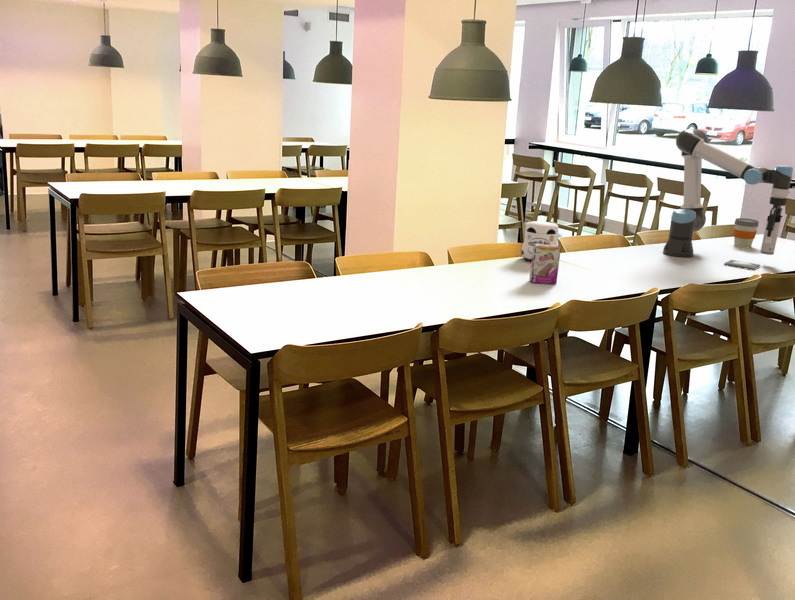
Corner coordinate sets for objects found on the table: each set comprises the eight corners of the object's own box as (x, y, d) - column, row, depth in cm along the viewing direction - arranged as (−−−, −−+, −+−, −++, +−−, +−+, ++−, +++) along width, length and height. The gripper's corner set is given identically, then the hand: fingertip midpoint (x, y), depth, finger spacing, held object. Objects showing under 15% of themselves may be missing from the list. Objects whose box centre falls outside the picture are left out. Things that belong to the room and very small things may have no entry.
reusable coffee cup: (725, 243, 444) (730, 218, 440) (743, 243, 448) (748, 218, 444) (741, 248, 433) (745, 222, 429) (759, 248, 437) (764, 222, 432)
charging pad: (724, 265, 386) (724, 262, 386) (731, 261, 395) (731, 259, 395) (753, 270, 378) (753, 267, 377) (760, 266, 387) (760, 264, 386)
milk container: (532, 265, 362) (536, 227, 357) (514, 257, 378) (517, 221, 373) (563, 263, 369) (567, 227, 364) (544, 256, 384) (547, 220, 379)
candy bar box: (531, 283, 328) (535, 246, 323) (528, 280, 332) (532, 243, 328) (557, 284, 328) (561, 247, 324) (554, 281, 333) (558, 244, 328)
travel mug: (772, 255, 387) (781, 216, 381) (758, 253, 390) (766, 214, 385) (775, 253, 391) (783, 215, 386) (761, 251, 395) (769, 213, 389)
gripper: (782, 199, 373) (772, 245, 380) (791, 196, 388) (782, 241, 394) (765, 197, 378) (756, 243, 384) (775, 194, 392) (766, 238, 399)
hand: (769, 242), depth 389 cm, fingers closed on travel mug, 6 cm apart
